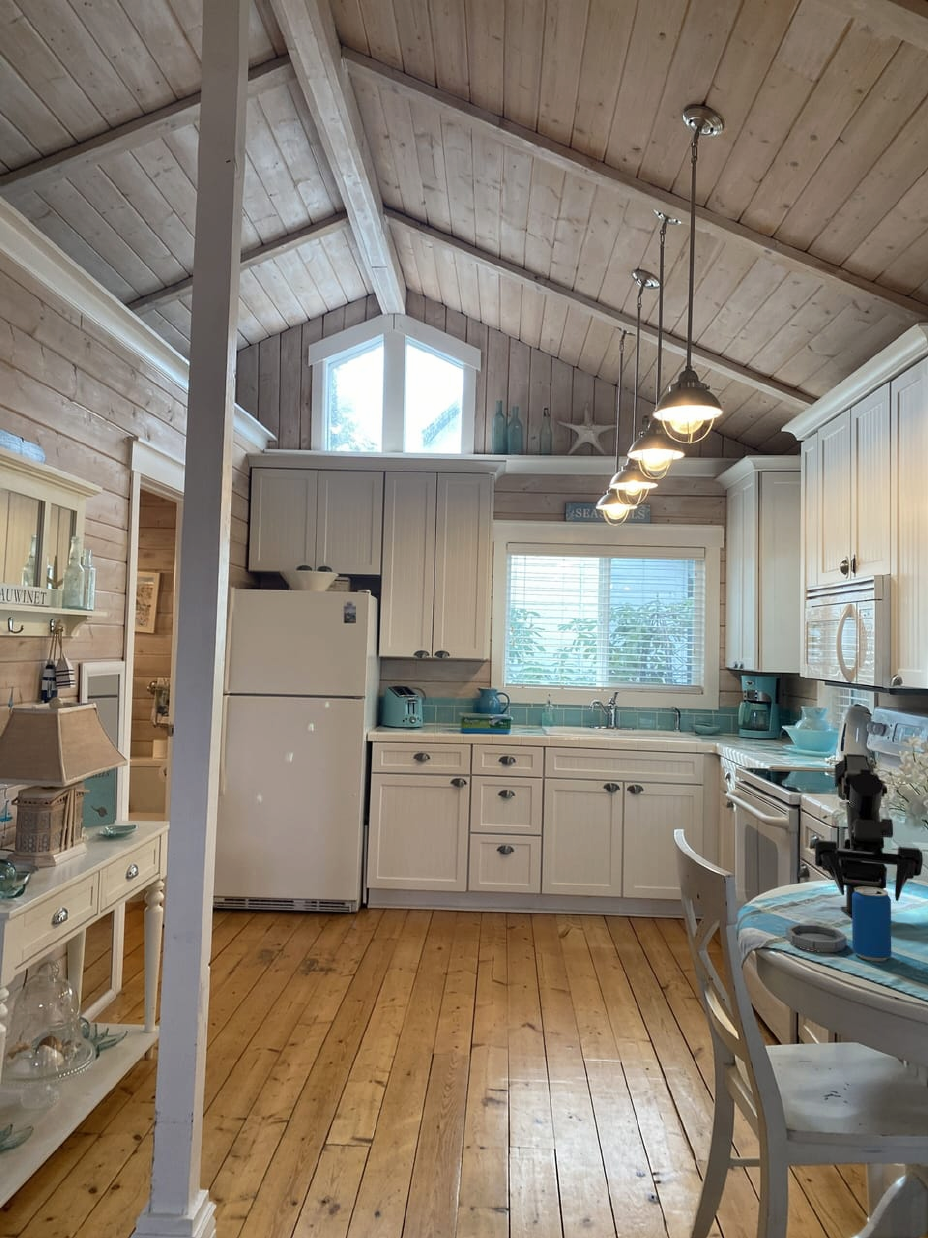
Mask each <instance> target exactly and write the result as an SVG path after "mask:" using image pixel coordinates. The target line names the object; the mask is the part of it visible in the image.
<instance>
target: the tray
mask: <svg viewBox="0 0 928 1238" xmlns="http://www.w3.org/2000/svg"><path fill="white" fill-rule="evenodd" d="M785 936H786V937H787V941H789V942H790V943H791V944H794V945H796V946H798V947H801V948H804V949H809V950H813V951H819V952H818V953H820V952H835V953H839V952H838V951H840V952H841V950H842V951H844V949H845V945H847V936H846V935H845V934H844V933H842V932H841V931H840V930H839V929H835V928H832V927H828V926H824V925H820V924H811V923H810V924H808V923H805V924H804V923H802V924H801V923H795V924H793V925H791V926H789V927H787V928H785ZM789 942H788V943H789ZM790 943H789V944H790ZM791 944H790V945H791Z"/></svg>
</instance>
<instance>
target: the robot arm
mask: <svg viewBox="0 0 928 1238" xmlns="http://www.w3.org/2000/svg"><path fill="white" fill-rule="evenodd" d="M833 772H834V773H833V780H834V781H833V784H834V788H837V796H838V798H839V799H840V800H842V801H843V800H845V799H846V800H849V802H850V803H849V802H846V803H845V806H846V807H845V808H846V820H847V821H846V823H847V834H848V835H847V837H848V838H845V840H844V841H843V842H844V844H843V846H842V848H838V841H835V840H834V841H833V840H824V839H823V840H821V839H817V840H816V842H814V865H815V866H816V867H818V868H822V870H823V871H826V872H827V873H828V874H829V875H830V876H831V878H832V879H833V881H834V883H835V884H836V886H837V888H838V890H839V892H840V894H841V896H845V895H846V896H845V898H846V903H845V905H846V906H840V908H839V909H840V910H841V911H842V912H843V913H844V914H846V915H847V916H848V917H850V918H851V919H852V894H853V893H854V891H855V890H854V889H855V888H856V887H860V886H868V887H876V888H880V889H884V890H885V889H887V874H888V867H887V866H886V865H892V866H893V865H894V866H896V874H895V888H894V889H895V892H894V898H895V901H896V902H898V901H899V899H900V896H901V893H902V891H903V889H904V888H903V887H904V886H905V883H906V882H907V881H908V879H909V880H912V879H914V877H918V876H920V875H921V874H922V870H923V869H922V868H923V862H924V857H923V852H922V851H921V850H920V849H919V847H917V848H915V847H908V846H907V847H906V846H898V848H897V853H888V852H884V851H883V849H884V848H885V841H884V840H885V838H890V839H892V838H893V837H894V825H893V823H894V822H893V819H889V818H888V819H887V818H881V817H880V808H881V806H882V798H883V797H885V794H888V787H887V786H886V784H885V783H884V782H883V780H882V779H880V777H879V775H878V773H876V772H875V769H874V766H873V765H871V763H869V757H868V755H865V754H856V753H846V754H843V759H842V760H840V761H839V762H838V763H836V764H835V765H834V771H833ZM845 888H846V889H845Z"/></svg>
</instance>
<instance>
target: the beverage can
mask: <svg viewBox="0 0 928 1238" xmlns="http://www.w3.org/2000/svg"><path fill="white" fill-rule="evenodd" d="M854 890H855V891H854V893H853V894H852V918H851V919H852V920H851V926H852V928H851V932H852V934H851V935H852V937H851V939H852V941H851V943H852V945H851V946H852V949H851V950H852V951H853V953H855V954H856V956H858V957H859V958H861V959H863V960H867V961H871V962H884V961H887V959H889V958H891V957H892V900H891V897H890V896H889V891H887V890H886V889H885V888H884V889H880V888H876V887H868V886H860V887H856V888H855V889H854Z"/></svg>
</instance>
